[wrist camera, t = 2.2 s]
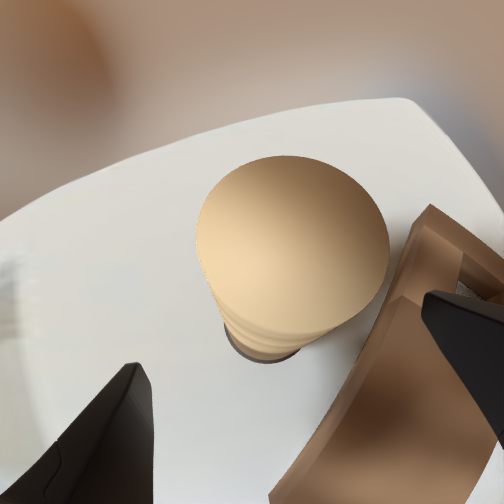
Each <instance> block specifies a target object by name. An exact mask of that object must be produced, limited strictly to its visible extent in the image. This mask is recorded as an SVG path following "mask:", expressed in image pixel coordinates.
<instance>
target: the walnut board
mask: <svg viewBox="0 0 504 504" xmlns="http://www.w3.org/2000/svg"><path fill="white" fill-rule="evenodd" d="M458 280H459V281H460V282H462V283H463V284H465V285H466V286H467V287H469V288H470V289H471V290H473V291H474V292H475V293H477V294H478V295H479V296H481V297H482V298H483V299H485V300H486V302H490V303H494V304H498V305H502V306H504V259H503V258H502V257H500V256H499V255H498V254H497V253H496V252H494V251H493V250H492V249H491V248H490V247H488V246H487V245H486V244H485V243H483V242H482V241H481V240H480V239H478V238H477V237H476V236H475V235H473V234H472V233H471V232H469V231H468V230H467V229H465V228H464V227H463V226H461V225H460V224H459V223H457V222H456V221H455V220H453V219H452V218H450V217H449V216H448V215H446V214H445V213H443V212H442V211H440V210H439V209H437V208H436V207H435V206H433V205H432V204H429V205H428V207H427V208H426V209H425V210H424V211H423V212H422V213H421V215H420V216H419V217H418V218H417V219H416V220H415V221H414V223H413V224H412V227H411V230H410V233H409V236H408V239H407V242H406V245H405V248H404V251H403V254H402V257H401V259H400V262H399V265H398V268H397V270H396V273H395V276H394V278H393V281H392V283H391V286H390V288H389V291H388V293H387V296H386V298H385V301H384V303H383V305H382V308H381V310H380V312H379V315H378V317H377V319H376V321H375V323H374V326H373V328H372V330H371V332H370V334H369V336H368V338H367V341H366V343H365V345H364V347H363V349H362V351H361V353H360V355H359V357H358V359H357V361H356V362H355V364H354V366H353V368H352V370H351V372H350V374H349V376H348V377H347V379H346V381H345V383H344V385H343V386H342V388H341V390H340V392H339V393H338V395H337V397H336V399H335V400H334V402H333V404H332V405H331V407H330V409H329V410H328V412H327V414H326V415H325V417H324V418H323V420H322V422H321V423H320V425H319V426H318V428H317V429H316V431H315V432H314V434H313V435H312V437H311V438H310V440H309V441H308V443H307V444H306V446H305V447H304V449H303V450H302V451H301V453H300V454H299V456H298V457H297V458H296V460H295V461H294V463H293V464H292V465H291V467H290V468H289V469H288V471H287V472H286V473H285V475H284V476H283V477H282V478H281V480H280V481H279V482H278V484H277V485H276V486H275V487H274V489H273V490H272V491H271V492H270V493H269V495H268V496H269V502H270V504H465V502H466V501H467V499H468V498H469V496H470V494H471V493H472V491H473V489H474V487H475V486H476V484H477V482H478V480H479V478H480V476H481V475H482V473H483V471H484V469H485V467H486V465H487V463H488V461H489V459H490V457H491V454H492V452H493V450H494V448H495V445H496V443H497V441H498V438H497V437H496V435H495V433H494V431H493V430H492V428H491V426H490V425H489V423H488V421H487V420H486V418H485V416H484V415H483V413H482V412H481V410H480V408H479V407H478V405H477V404H476V402H475V400H474V399H473V397H472V396H471V394H470V393H469V391H468V390H467V388H466V387H465V385H464V384H463V382H462V381H461V379H460V378H459V376H458V375H457V374H456V372H455V371H454V369H453V368H452V366H451V365H450V364H449V362H448V361H447V359H446V358H445V357H444V355H443V354H442V352H441V351H440V349H439V347H438V346H437V344H436V342H435V340H434V339H433V337H432V335H431V334H430V332H429V331H428V329H427V327H426V326H425V324H424V322H423V321H422V318H421V309H422V303H423V297H424V295H425V293H426V292H429V291H431V290H435V289H436V290H440V291H444V292H449V293H453V294H455V290H456V285H457V281H458Z"/></svg>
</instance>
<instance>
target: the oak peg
mask: <svg viewBox="0 0 504 504" xmlns="http://www.w3.org/2000/svg"><path fill="white" fill-rule="evenodd" d="M196 246H197V252H198V257H199V261H200V264H201V266H202V269H203V271H204V274H205V276H206V279H207V281H208V284H209V286H210V289H211V291H212V294H213V296H214V299H215V301H216V304H217V306H218V308H219V311H220V313H221V316H222V318H223V320H224V328H225V332H226V335H227V337H228V340H229V342H230V343H231V345H232V346H233V348H234V349H235V350H236V351H237V352H238V353H239V354H240V355H242V356H243V357H245V358H246V359H248V360H251V361H253V362H257V363H262V364H272V363H278V362H281V361H284V360H286V359H288V358H290V357H292V356H293V355H295V354H296V353H297V352H298V351H299V350H300V349H301V348H302V347H304V346H305V345H307V344H309V343H311V342H312V341H314V340H316V339H318V338H319V337H321V336H323V335H324V334H326V333H328V332H329V331H331V330H333V329H334V328H336V327H338V326H339V325H341V324H342V323H344V322H346V321H347V320H349V319H350V318H352V317H353V316H355V315H356V314H357V313H359V312H360V311H361V310H363V309H364V308H365V307H366V306H367V305H368V304H369V302H370V301H371V300H372V299H373V298H374V296H375V295H376V293H377V292H378V291H379V289H380V287H381V285H382V283H383V281H384V278H385V275H386V272H387V269H388V263H389V253H390V245H389V236H388V232H387V228H386V224H385V222H384V219H383V217H382V214H381V212H380V210H379V209H378V207H377V205H376V203H375V202H374V201H373V199H372V198H371V196H370V195H369V194H368V193H367V192H366V191H365V189H364V188H363V187H362V186H361V185H360V184H358V183H357V182H356V181H355V180H354V179H353V178H351V177H350V176H348V175H347V174H346V173H344V172H342V171H341V170H339V169H337V168H335V167H333V166H331V165H329V164H326V163H324V162H321V161H318V160H314V159H310V158H305V157H298V156H274V157H267V158H262V159H259V160H255V161H252V162H249V163H247V164H245V165H242V166H240V167H239V168H237V169H235V170H234V171H232V172H230V173H229V174H228V175H227V176H225V177H224V178H223V179H222V180H221V181H220V182H219V183H218V184H217V185H216V186H215V187H214V188H213V190H212V191H211V192H210V193H209V195H208V197H207V198H206V200H205V202H204V204H203V206H202V209H201V211H200V214H199V218H198V222H197V228H196Z"/></svg>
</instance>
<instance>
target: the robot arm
mask: <svg viewBox="0 0 504 504" xmlns="http://www.w3.org/2000/svg"><path fill="white" fill-rule="evenodd" d="M421 318H422V321H423V322H424V324H425V326H426V327H427V329H428V331H429V332H430V334H431V335H432V337H433V339H434V340H435V342H436V344H437V346H438V347H439V349H440V351H441V352H442V354H443V355H444V357H445V358H446V359H447V361H448V362H449V364H450V365H451V366H452V368H453V369H454V371H455V372H456V374H457V375H458V376H459V378H460V379H461V381H462V382H463V384H464V385H465V387H466V388H467V390H468V391H469V393H470V394H471V396H472V397H473V399H474V400H475V402H476V404H477V405H478V407H479V408H480V410H481V412H482V413H483V415H484V416H485V418H486V420H487V421H488V423H489V425H490V426H491V428H492V430H493V431H494V433H495V435H496V437H497V438H498V441H499V442H500V444H501V446H502V448H503V450H504V306H502V305H498V304H494V303H490V302H486V301H482V300H478V299H473V298H469V297H465V296H461V295H457V294H453V293H449V292H444V291H440V290H436V289H435V290H431V291H429V292H426V293H425V295H424V297H423V303H422V309H421ZM153 455H154V423H153V407H152V388H151V384H150V381H149V379H148V377H147V375H146V373H145V371H144V369H143V367H142V365H141V364H140V363H138V362H135V363H127V364H125V365H124V366H123V367H122V368H121V369H120V370H119V372H118V373H117V374H116V375H115V376H114V377H113V378H112V379H111V380H110V381H109V382H108V384H107V385H106V386H105V387H104V388H103V389H102V390H101V391H100V392H99V393H98V394H97V396H96V397H95V398H94V399H93V400H92V401H91V402H90V403H89V404H88V405H87V407H86V408H85V409H84V410H83V411H82V412H81V413H80V414H79V415H78V417H77V418H76V419H75V420H74V421H73V422H72V423H71V424H70V425H69V427H68V428H67V429H66V430H65V431H64V432H63V433H62V434H61V436H60V437H59V438H58V439H57V441H55V442H54V443H53V444H52V446H51V447H50V448H49V449H48V450H47V451H46V452H45V453H44V454H43V455H42V457H41V458H40V459H39V460H38V461H37V462H36V463H35V464H34V465H33V466H32V467H31V468H30V469H29V470H28V471H26V472H25V473H24V474H23V475H22V476H21V477H20V478H19V479H18V480H17V481H16V482H15V483H13V484H12V485H11V486H10V487H9V488H8V489H7V490H6V491H5V492H3V493H2V494H1V495H0V504H153Z"/></svg>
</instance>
